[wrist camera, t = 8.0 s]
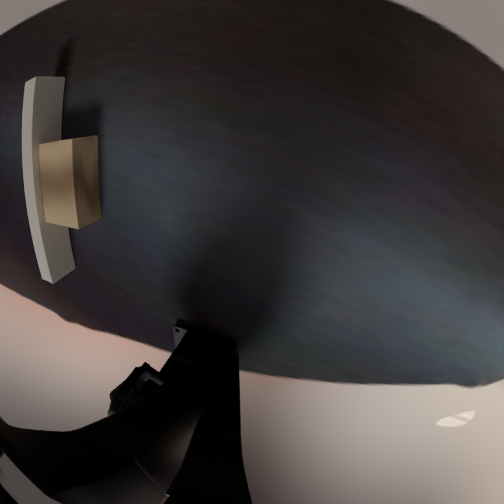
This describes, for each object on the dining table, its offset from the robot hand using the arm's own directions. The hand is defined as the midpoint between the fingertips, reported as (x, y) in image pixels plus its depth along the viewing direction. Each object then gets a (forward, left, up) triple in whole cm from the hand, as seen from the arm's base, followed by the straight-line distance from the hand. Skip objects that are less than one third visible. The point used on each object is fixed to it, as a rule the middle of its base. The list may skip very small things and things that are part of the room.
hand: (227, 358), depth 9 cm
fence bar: (+3, +24, -12) cm, 27 cm away
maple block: (+3, +20, -12) cm, 24 cm away
